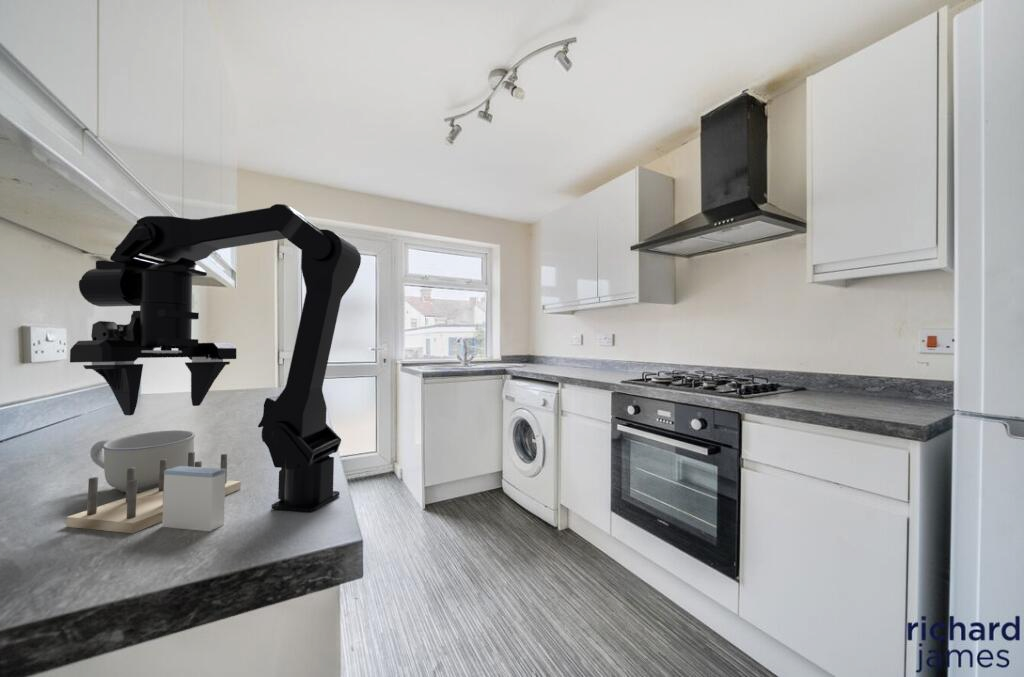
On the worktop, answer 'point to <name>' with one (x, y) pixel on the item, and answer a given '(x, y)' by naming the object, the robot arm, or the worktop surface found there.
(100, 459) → the teacup
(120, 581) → the worktop surface
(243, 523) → the worktop surface
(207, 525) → the white square block
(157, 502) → the dish rack
